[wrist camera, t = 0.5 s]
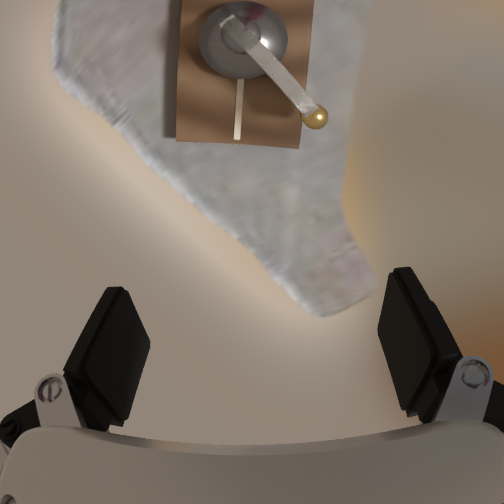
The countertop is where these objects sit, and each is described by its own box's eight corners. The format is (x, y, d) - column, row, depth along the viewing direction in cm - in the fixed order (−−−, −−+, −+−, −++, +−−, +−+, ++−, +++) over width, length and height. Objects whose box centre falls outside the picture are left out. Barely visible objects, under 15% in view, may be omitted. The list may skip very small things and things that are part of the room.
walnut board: (188, -17, 24) (184, -22, 22) (312, -11, 24) (315, -16, 22) (180, 139, 35) (175, 142, 33) (296, 146, 35) (298, 150, 33)
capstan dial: (184, 40, 27) (171, 34, 22) (248, -11, 23) (245, -25, 19) (282, 143, 33) (286, 154, 28) (345, 96, 30) (359, 100, 25)
